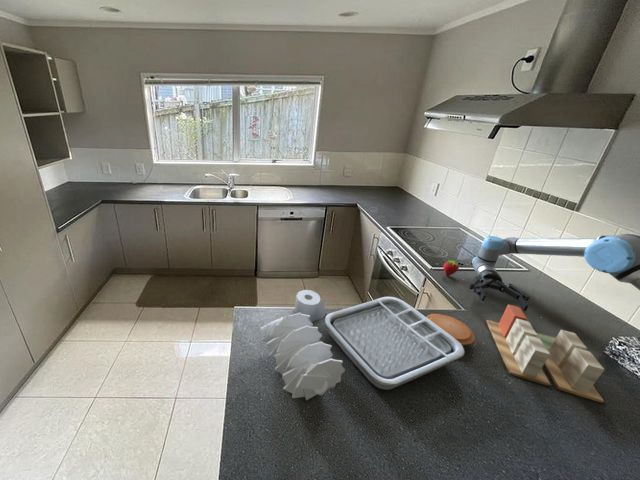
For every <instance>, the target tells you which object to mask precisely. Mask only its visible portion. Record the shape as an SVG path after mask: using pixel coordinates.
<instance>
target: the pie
mask: <svg viewBox="0 0 640 480" xmlns="http://www.w3.org/2000/svg"><path fill="white" fill-rule="evenodd" d="M425 317H426V318H428V319H429V320H431V321H432V322H433V323H435V324H436V325H437V326H439V327H440V328H441V329H443V330H444V331H446V332H447V333H448V334H450V335H451V336H452V337H454V338H455V339H456V340H457V341H458V342H459V343H461V345H462V346H463V347H464V346H468V345H472V343H474V341H475V338H476V337H475V333H474V332H473V330H472V329H471V328H470V327H469V326H468V325H466V324H465V323H464V322H463V321H461V320H458V319H457V318H455V317H452V316H450V315H447V314H442V313H441V314H440V313H431V314H428V315H427V316H425Z"/></svg>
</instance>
